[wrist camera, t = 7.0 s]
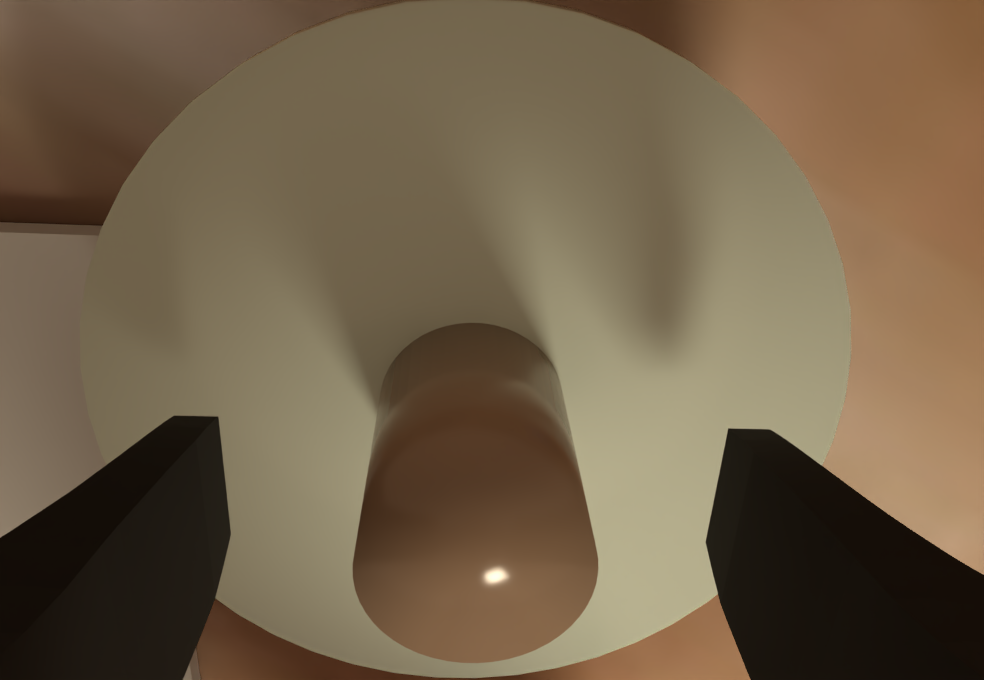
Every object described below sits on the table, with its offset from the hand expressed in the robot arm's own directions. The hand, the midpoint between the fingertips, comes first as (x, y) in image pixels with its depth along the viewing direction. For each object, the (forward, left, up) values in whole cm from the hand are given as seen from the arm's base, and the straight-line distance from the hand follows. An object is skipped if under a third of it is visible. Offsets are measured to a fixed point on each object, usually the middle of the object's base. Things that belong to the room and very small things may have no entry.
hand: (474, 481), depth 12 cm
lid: (0, 0, -3) cm, 3 cm away
